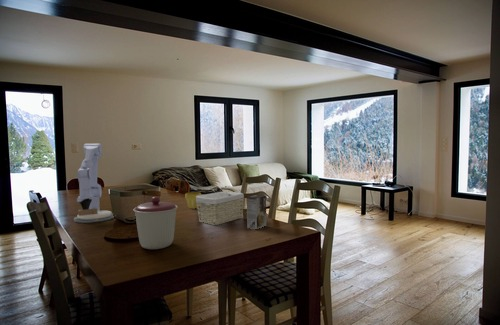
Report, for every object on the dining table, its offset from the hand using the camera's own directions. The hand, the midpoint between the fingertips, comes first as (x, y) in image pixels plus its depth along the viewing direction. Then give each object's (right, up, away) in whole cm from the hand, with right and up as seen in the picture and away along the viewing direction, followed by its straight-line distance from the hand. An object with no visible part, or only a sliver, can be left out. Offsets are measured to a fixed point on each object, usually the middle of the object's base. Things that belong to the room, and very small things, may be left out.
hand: (85, 212), depth 193 cm
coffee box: (+100, -5, -24) cm, 102 cm away
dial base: (+5, -4, 0) cm, 7 cm away
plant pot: (+58, -2, +28) cm, 65 cm away
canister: (+56, -7, -53) cm, 77 cm away
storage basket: (+80, -4, -7) cm, 80 cm away
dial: (+5, -2, -1) cm, 6 cm away
